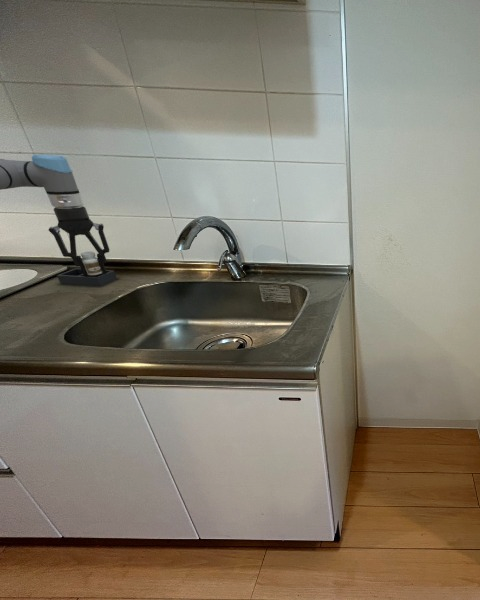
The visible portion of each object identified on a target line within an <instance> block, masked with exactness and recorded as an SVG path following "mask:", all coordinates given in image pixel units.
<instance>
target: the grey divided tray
mask: <svg viewBox="0 0 480 600" xmlns="http://www.w3.org/2000/svg"><path fill="white" fill-rule="evenodd" d="M56 277H57V279H58V282H59V284H60V285H63V286H64V285H65V286H79V287H80V286H82V287H97V288H101V287H103V286H105V285H108V284H110V283H112V282H115V281H116V280H118V278H117V275H116V272H115V270H112V269H111V270H110V269H106V273H101V274H98V275H88V274H87V275H83V272H82V270H81V268H80V267H79V268H78V267H77V268H76V267H75V268H73V269H70V270H67V271H65V272H62V273H59V274H56Z"/></svg>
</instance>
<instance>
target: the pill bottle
mask: <svg viewBox="0 0 480 600" xmlns="http://www.w3.org/2000/svg"><path fill="white" fill-rule="evenodd" d="M80 256H81V259H82V263H83V265H84V268H85V270H86V273H87V274H88V275H98V274H101V273H103V271H102V268H101V265H100V263H99V260H98V258H97V256H96V253H95V252H94V251H84V252H81V253H80Z"/></svg>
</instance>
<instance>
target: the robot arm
mask: <svg viewBox="0 0 480 600" xmlns="http://www.w3.org/2000/svg"><path fill="white" fill-rule="evenodd" d="M15 188H44V190H45V191H44V192H45V193H46V195H47V198H48V200H49V202H50V205H51V207H53V212H54V215H55V217H56V219H57V225H54V226H50V227H49V228H48V232H49V233H50V234H51V235H52V236H53V237H54V239H55V241H56V243H57V246H58V248H59V250H60V253H61V256H62V257H64V258H71V259H72V261H73V264H74V266H75V267H79V268H80V269H81V270H82V272H83V275H87V273H86V270H85V268H84V265H83V263H82V260H83V258H82V256H81V255H78V253H77V242H76V241H77V240H76V236H85V237H86V238H87V240H88V241H89V242H90V244H91V245H92V246H93V248H94V249H95V251H96V252H97V253H96V258H98V260H99V263H100V265H101V268H102V271H103V273H106V270H107V269H106V266H105V264H107V263H108V261H107V257H106V254H108V253H109V252H110V245H109V244H108V241H107V238H106V235H105V231H104V227H105V225H104V223H96V222H93V221H92V220H91V218H90V216H89V213H88V211H87V208H86V206H84V205H85V203H84V199H83V197H82V194H81V192H80V190H79V187H78V185H77V183H76V180H75V176H74V174H73V170H72V168H71V166H70V164H69V161H68V159H67V157H65V156H62V155H59V154H32V155H31V160H30V161H29V160H15V159H13V160H12V159H4V158H0V191H2V190H9V189H15ZM93 227H94V229H95V230H96V231H97V232H98V235H99V238H100V241H101V244H102V246H103V248H102V247H101V245H100V244H99V242H98V241H97V240H96V238H94V236H93V234H92V233H91V230H92V229H93ZM61 230H62V231H64V232H65V233H67V234H68V238H69V247H70V252H69V251H68V248H67V246H66V244H65V242H64V239H63V237H62V235H61Z"/></svg>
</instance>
